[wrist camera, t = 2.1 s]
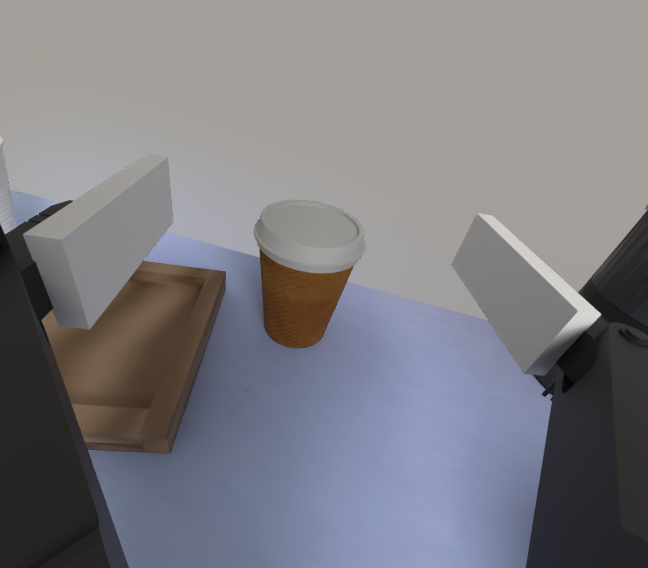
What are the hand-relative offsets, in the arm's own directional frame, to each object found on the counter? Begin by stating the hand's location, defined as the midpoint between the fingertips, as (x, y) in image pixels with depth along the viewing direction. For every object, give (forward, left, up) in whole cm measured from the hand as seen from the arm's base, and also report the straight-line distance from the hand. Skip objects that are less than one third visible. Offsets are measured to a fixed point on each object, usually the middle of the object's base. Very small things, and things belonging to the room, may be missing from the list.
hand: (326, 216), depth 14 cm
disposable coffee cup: (-1, -12, -18) cm, 21 cm away
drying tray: (+16, -7, -18) cm, 25 cm away
